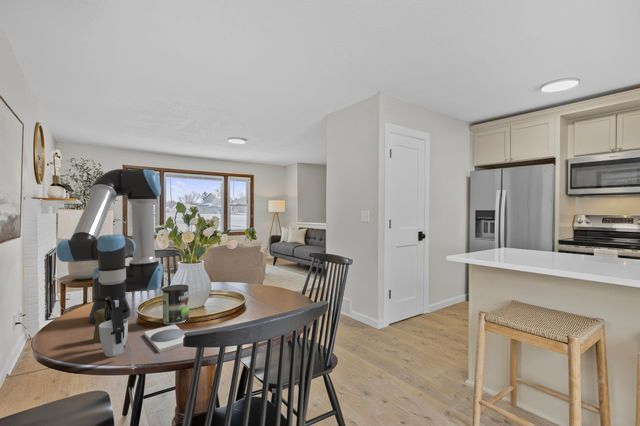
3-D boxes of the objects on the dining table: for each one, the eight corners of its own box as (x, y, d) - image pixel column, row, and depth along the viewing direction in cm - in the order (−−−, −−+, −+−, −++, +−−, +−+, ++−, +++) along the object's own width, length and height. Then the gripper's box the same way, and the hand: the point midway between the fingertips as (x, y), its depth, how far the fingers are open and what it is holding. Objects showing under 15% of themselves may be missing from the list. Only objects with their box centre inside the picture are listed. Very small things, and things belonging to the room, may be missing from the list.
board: (144, 335, 120) (144, 331, 120) (174, 327, 127) (174, 323, 127) (159, 352, 105) (159, 348, 105) (193, 343, 112) (193, 338, 112)
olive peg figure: (91, 344, 112) (90, 313, 112) (94, 338, 117) (93, 308, 117) (112, 340, 115) (111, 310, 115) (114, 334, 120) (113, 305, 120)
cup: (124, 357, 102) (123, 326, 102) (95, 360, 100) (94, 329, 100) (131, 346, 110) (131, 317, 110) (104, 349, 108) (103, 320, 107)
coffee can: (194, 316, 139) (193, 284, 139) (179, 325, 129) (178, 290, 129) (173, 315, 141) (172, 283, 141) (157, 324, 131) (156, 289, 131)
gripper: (93, 277, 111) (95, 338, 112) (104, 291, 93) (106, 363, 93) (118, 274, 116) (120, 332, 117) (134, 286, 98) (135, 355, 98)
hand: (114, 346), depth 105 cm, fingers open, 13 cm apart
